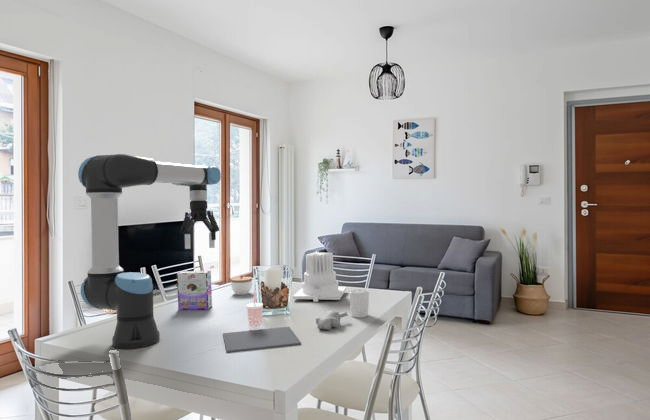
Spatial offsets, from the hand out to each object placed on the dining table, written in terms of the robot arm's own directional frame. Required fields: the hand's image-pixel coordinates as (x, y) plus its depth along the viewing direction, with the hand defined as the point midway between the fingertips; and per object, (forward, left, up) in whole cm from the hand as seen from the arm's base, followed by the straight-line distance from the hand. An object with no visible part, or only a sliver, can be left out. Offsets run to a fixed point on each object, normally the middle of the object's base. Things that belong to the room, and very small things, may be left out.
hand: (199, 248), depth 209 cm
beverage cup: (-20, -41, -27) cm, 53 cm away
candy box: (-2, +2, -27) cm, 27 cm away
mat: (-31, -50, -27) cm, 64 cm away
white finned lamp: (+37, -41, -27) cm, 61 cm away
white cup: (+10, -71, -27) cm, 77 cm away
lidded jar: (+31, 0, -27) cm, 41 cm away
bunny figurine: (-7, -66, -27) cm, 72 cm away
